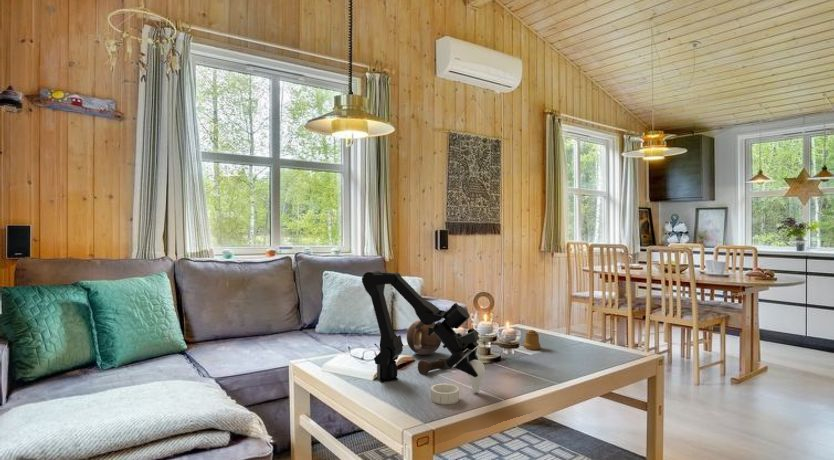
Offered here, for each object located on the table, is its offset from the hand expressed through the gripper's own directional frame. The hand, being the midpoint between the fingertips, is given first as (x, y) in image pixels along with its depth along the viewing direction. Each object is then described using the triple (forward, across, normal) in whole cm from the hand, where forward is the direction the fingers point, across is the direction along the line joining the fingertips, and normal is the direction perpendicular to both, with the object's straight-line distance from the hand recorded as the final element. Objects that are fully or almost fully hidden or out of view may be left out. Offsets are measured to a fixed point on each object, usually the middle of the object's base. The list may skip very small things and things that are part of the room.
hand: (479, 373), depth 160 cm
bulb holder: (-1, -10, +11) cm, 15 cm away
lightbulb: (+4, 0, +6) cm, 7 cm away
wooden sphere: (-20, +34, +30) cm, 50 cm away
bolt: (-10, +17, +20) cm, 29 cm away
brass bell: (+8, +65, +2) cm, 65 cm away
